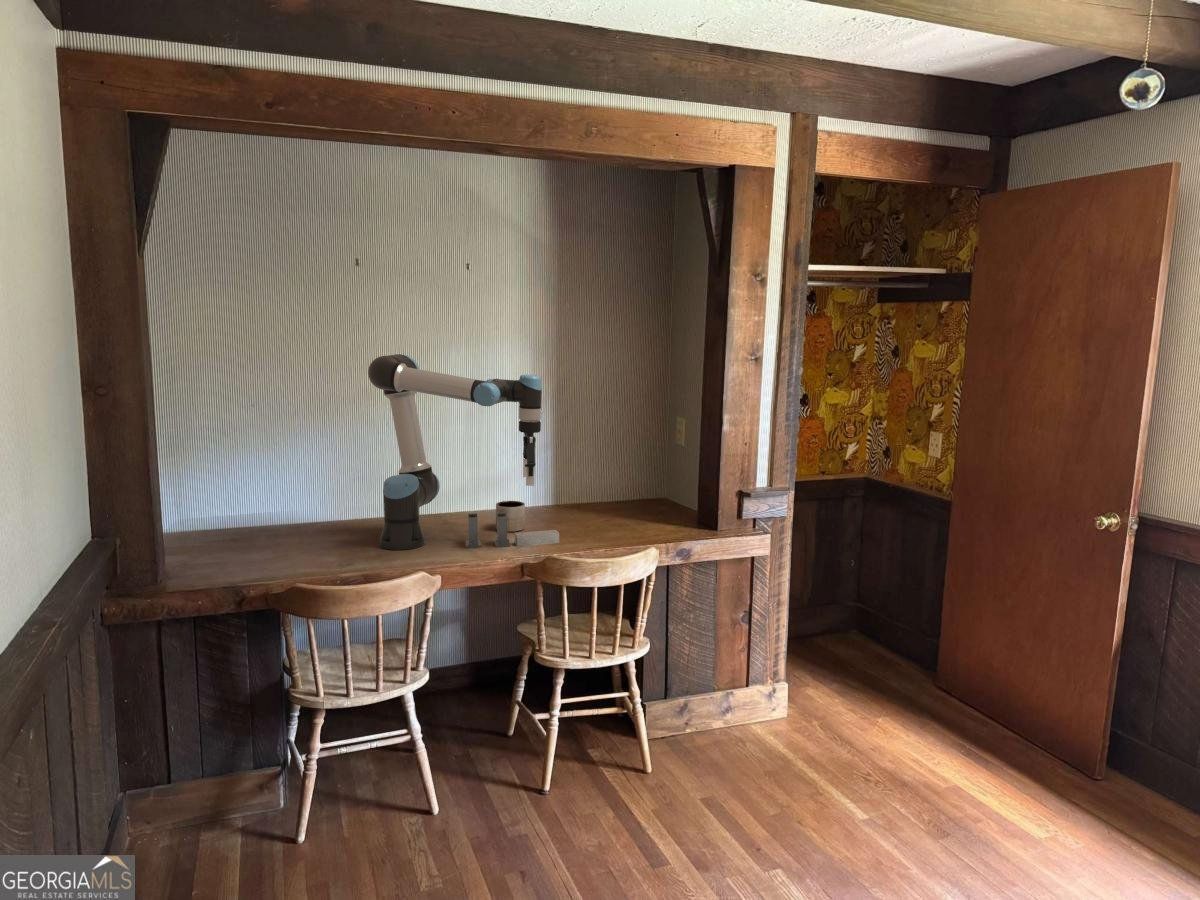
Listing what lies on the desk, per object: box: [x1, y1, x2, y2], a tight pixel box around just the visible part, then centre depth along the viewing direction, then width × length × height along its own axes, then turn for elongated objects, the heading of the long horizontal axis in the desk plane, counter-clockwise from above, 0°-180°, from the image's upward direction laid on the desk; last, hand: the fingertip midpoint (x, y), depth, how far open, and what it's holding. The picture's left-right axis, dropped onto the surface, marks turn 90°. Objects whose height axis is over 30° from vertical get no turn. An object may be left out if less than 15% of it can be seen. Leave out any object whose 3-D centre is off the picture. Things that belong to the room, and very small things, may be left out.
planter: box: [495, 500, 526, 533], centre depth 295 cm, size 11×11×10 cm
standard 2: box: [494, 513, 511, 548], centre depth 274 cm, size 5×7×10 cm
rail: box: [514, 529, 560, 548], centre depth 277 cm, size 15×4×4 cm, turn 110°
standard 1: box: [465, 512, 482, 549], centre depth 273 cm, size 5×7×10 cm
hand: (528, 481), depth 274 cm, fingers open, 13 cm apart
